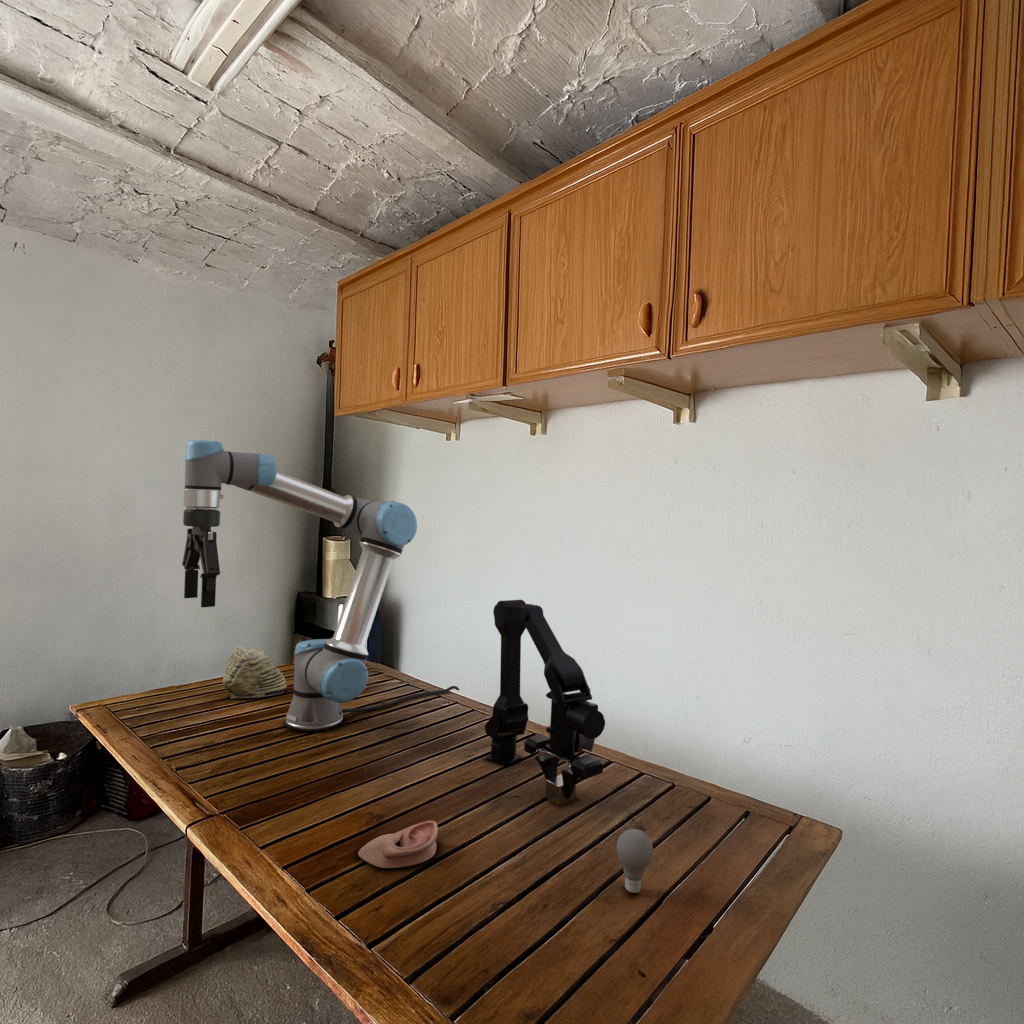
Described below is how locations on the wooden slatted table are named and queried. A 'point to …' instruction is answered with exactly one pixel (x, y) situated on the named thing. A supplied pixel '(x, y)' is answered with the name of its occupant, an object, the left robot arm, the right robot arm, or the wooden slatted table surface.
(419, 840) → the anatomical model
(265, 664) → the fossil
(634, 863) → the light bulb
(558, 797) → the block
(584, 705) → the right robot arm
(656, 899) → the wooden slatted table surface
